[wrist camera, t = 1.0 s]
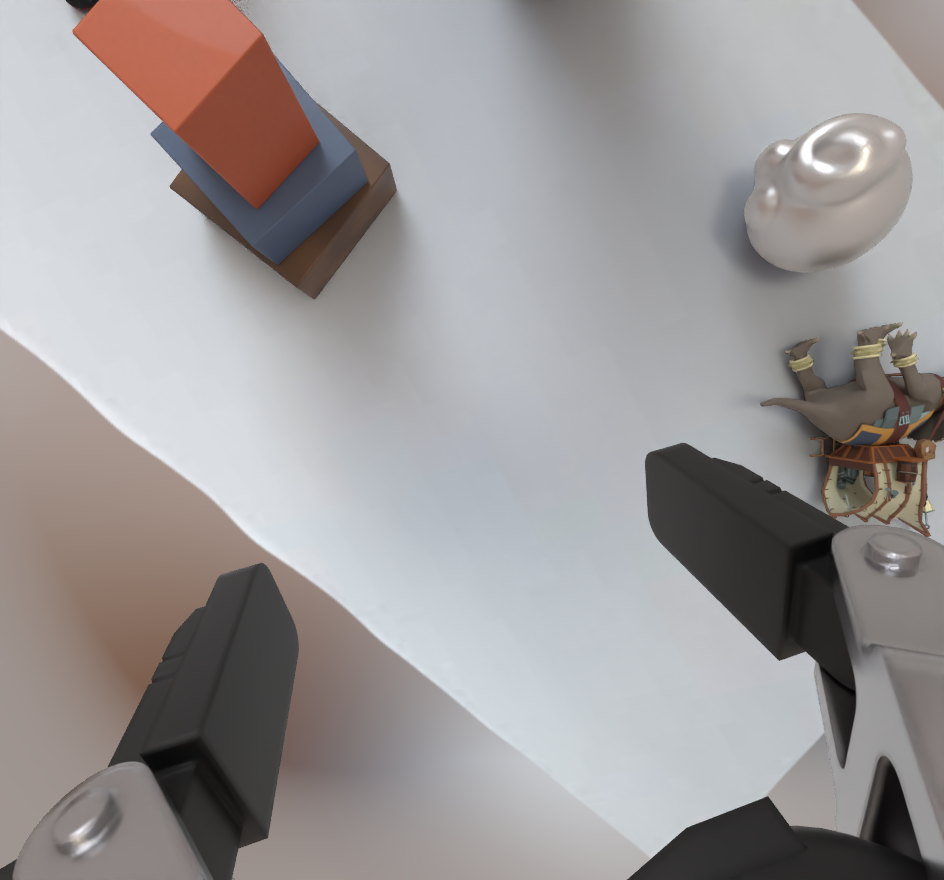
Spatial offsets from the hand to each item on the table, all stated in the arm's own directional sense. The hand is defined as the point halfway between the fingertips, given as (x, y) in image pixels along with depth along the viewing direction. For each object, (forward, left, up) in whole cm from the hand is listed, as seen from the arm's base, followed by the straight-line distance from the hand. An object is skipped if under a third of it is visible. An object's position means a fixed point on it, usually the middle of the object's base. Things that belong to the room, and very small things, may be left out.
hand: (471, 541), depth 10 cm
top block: (-15, -14, -19) cm, 28 cm away
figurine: (-4, +31, -27) cm, 41 cm away
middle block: (-15, -14, -23) cm, 31 cm away
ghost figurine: (-19, +21, -27) cm, 39 cm away
